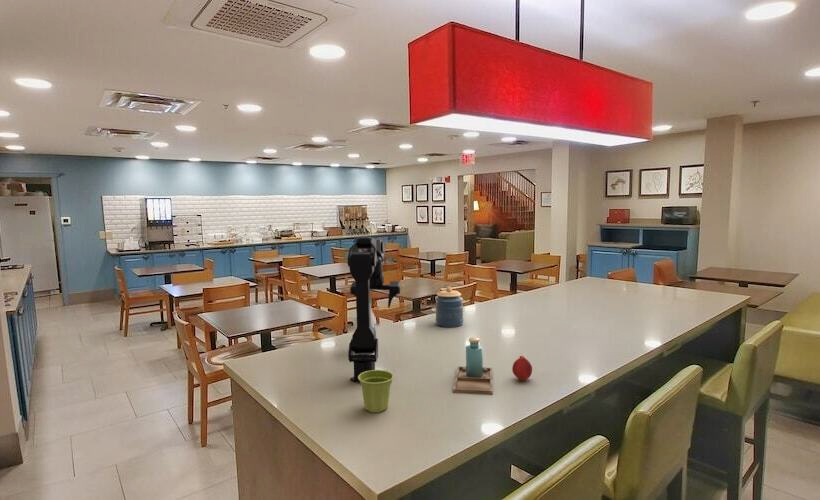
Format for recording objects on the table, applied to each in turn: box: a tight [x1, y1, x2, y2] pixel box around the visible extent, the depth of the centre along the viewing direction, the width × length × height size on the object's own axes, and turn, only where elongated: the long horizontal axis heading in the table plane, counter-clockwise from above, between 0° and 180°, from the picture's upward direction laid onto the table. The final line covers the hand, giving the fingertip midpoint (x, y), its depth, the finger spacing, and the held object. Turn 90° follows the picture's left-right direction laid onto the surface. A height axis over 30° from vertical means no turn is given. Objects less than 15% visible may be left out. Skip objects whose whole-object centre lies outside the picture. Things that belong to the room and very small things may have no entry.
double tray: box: [452, 365, 494, 395], centre depth 133 cm, size 19×11×2 cm, turn 170°
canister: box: [434, 286, 464, 328], centre depth 203 cm, size 13×13×18 cm
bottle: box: [465, 337, 484, 378], centre depth 137 cm, size 5×5×12 cm
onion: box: [511, 354, 533, 381], centre depth 133 cm, size 6×6×8 cm
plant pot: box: [358, 369, 395, 413], centre depth 116 cm, size 9×9×9 cm
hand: (377, 307), depth 169 cm, fingers open, 9 cm apart
